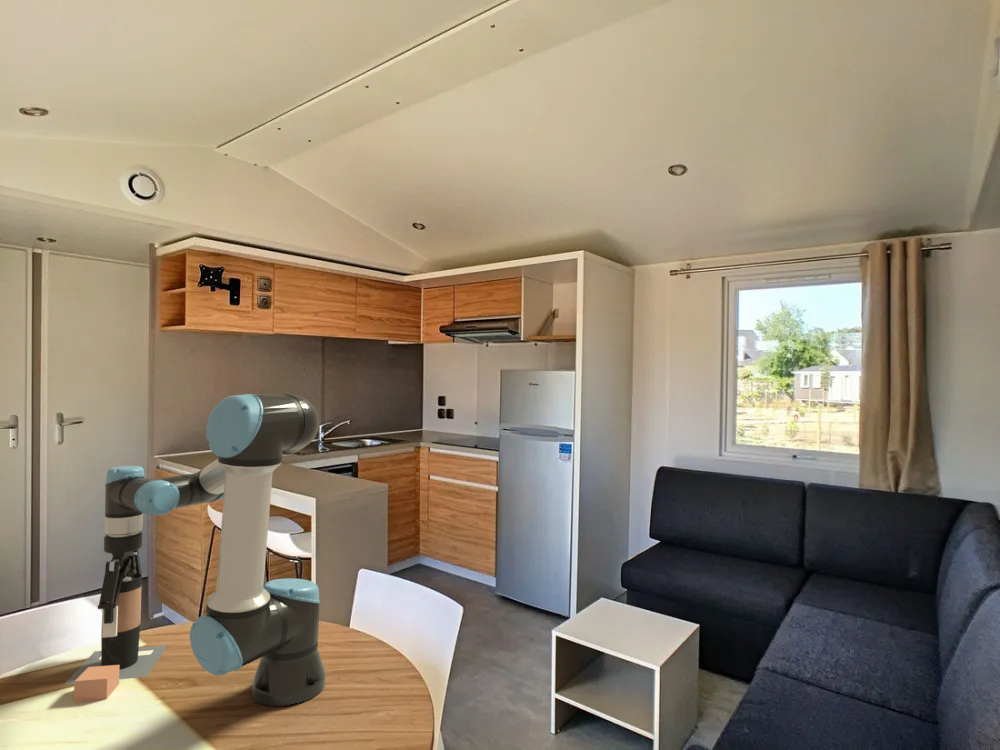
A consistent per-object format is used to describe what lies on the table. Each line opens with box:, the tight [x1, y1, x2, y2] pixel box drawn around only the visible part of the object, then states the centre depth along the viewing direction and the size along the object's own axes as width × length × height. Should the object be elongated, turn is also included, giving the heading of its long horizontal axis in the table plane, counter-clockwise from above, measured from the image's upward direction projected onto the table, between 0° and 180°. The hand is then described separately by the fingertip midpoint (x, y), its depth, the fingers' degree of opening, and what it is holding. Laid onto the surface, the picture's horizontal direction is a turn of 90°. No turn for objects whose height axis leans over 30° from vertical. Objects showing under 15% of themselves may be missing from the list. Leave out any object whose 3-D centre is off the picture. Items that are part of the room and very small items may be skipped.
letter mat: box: [64, 644, 169, 686], centre depth 136 cm, size 16×16×1 cm
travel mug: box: [100, 573, 143, 670], centre depth 136 cm, size 8×8×20 cm
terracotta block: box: [73, 665, 120, 703], centre depth 123 cm, size 6×6×5 cm
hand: (120, 624), depth 136 cm, fingers open, 13 cm apart
